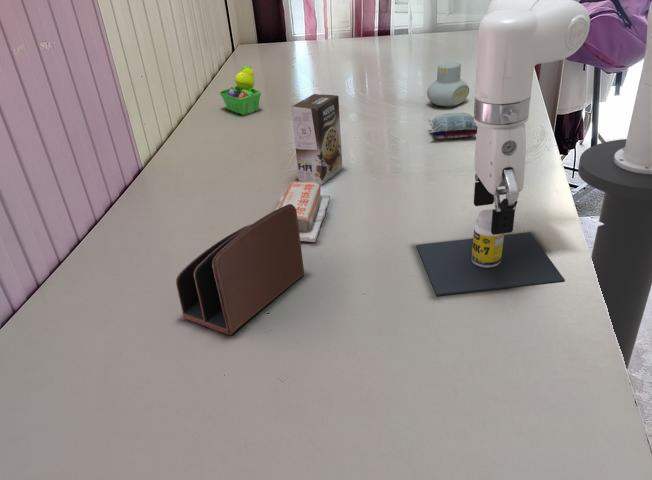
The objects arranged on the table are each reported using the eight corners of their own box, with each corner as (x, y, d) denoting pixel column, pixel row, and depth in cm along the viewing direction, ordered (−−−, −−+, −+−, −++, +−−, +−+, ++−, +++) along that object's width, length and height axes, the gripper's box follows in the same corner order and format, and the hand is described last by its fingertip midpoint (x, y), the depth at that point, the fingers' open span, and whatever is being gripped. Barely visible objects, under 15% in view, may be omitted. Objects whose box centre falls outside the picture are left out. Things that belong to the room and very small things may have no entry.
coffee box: (322, 185, 136) (316, 108, 126) (297, 181, 139) (289, 105, 129) (344, 169, 142) (339, 94, 132) (319, 165, 145) (313, 92, 135)
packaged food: (427, 129, 156) (428, 109, 152) (477, 127, 154) (479, 106, 151) (429, 143, 149) (430, 122, 146) (481, 140, 147) (483, 119, 144)
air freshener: (446, 112, 164) (448, 71, 158) (422, 106, 170) (422, 67, 164) (472, 100, 170) (475, 60, 163) (448, 95, 175) (450, 56, 169)
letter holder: (305, 274, 108) (297, 197, 99) (230, 337, 96) (214, 255, 87) (259, 261, 113) (248, 187, 104) (183, 319, 101) (162, 240, 92)
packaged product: (280, 178, 129) (328, 178, 127) (283, 200, 132) (330, 200, 130) (259, 219, 115) (314, 219, 113) (263, 243, 118) (316, 243, 116)
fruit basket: (221, 109, 184) (214, 68, 177) (246, 101, 188) (240, 61, 181) (242, 117, 177) (235, 75, 170) (268, 109, 180) (262, 67, 174)
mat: (529, 234, 111) (530, 232, 111) (564, 282, 99) (565, 279, 98) (416, 246, 112) (416, 244, 111) (436, 296, 99) (436, 294, 99)
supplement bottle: (465, 261, 106) (468, 215, 100) (484, 250, 108) (488, 205, 102) (488, 271, 102) (492, 224, 97) (507, 260, 104) (512, 214, 99)
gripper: (550, 126, 83) (534, 241, 94) (508, 87, 96) (499, 191, 107) (492, 134, 83) (483, 248, 94) (459, 93, 97) (455, 197, 107)
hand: (492, 218), depth 100 cm, fingers open, 9 cm apart
